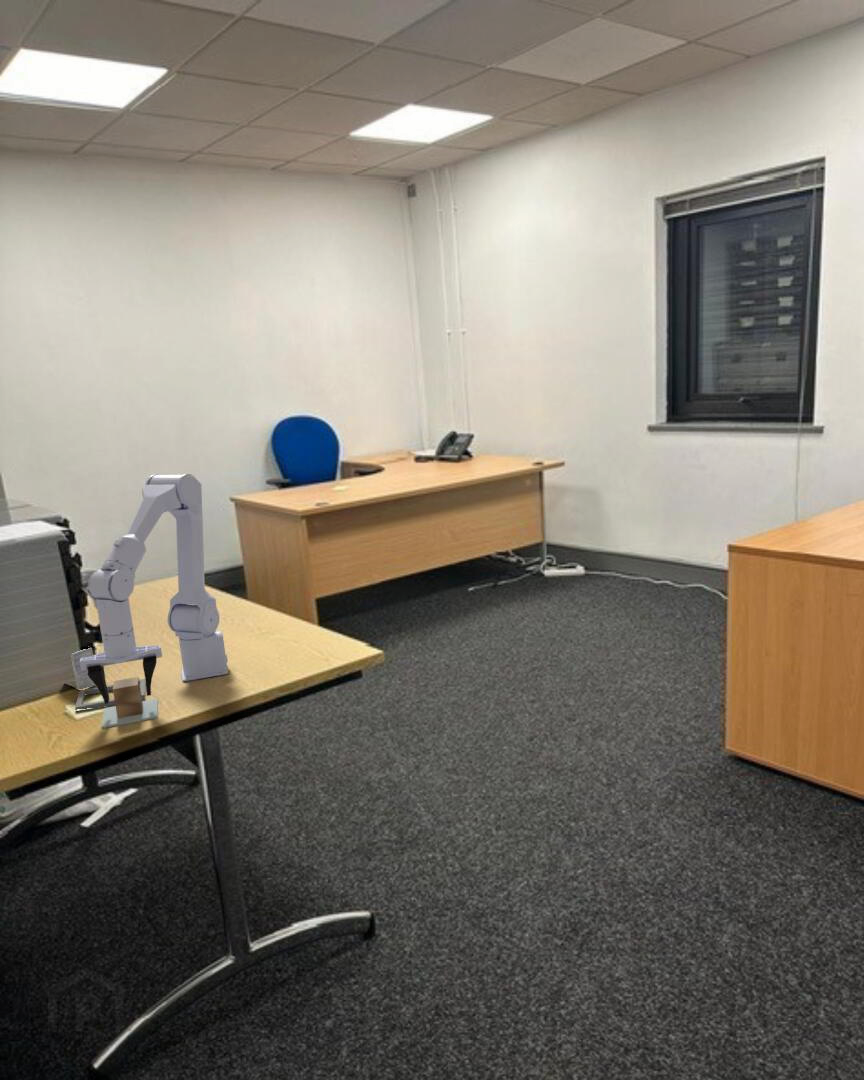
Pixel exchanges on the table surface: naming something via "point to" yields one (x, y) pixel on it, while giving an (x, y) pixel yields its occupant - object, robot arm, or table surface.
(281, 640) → the table surface
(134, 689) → the walnut block
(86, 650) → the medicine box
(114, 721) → the mat
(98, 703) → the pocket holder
